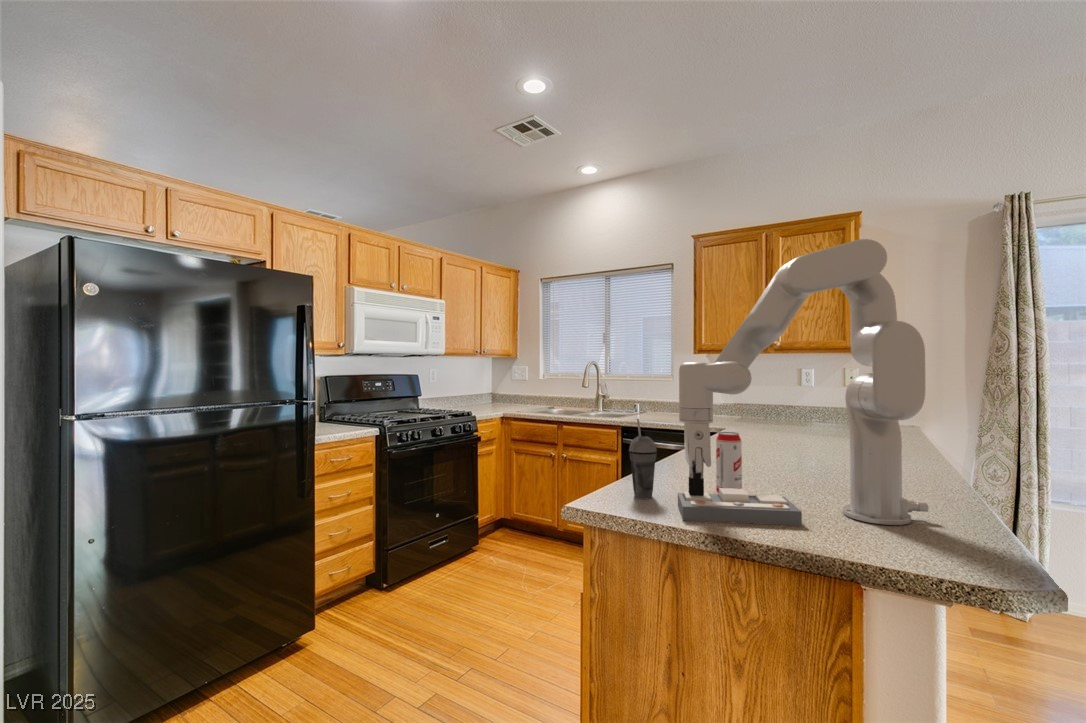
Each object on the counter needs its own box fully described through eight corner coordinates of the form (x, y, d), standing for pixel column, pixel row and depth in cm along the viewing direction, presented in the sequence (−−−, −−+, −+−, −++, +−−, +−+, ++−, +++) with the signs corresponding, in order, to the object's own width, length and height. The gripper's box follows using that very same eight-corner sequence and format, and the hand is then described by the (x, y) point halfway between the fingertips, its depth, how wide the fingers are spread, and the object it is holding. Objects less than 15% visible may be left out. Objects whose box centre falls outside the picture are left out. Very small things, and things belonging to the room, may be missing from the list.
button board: (784, 509, 116) (784, 494, 116) (801, 525, 104) (801, 509, 104) (677, 505, 120) (677, 490, 120) (682, 520, 108) (682, 504, 108)
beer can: (744, 493, 130) (743, 432, 131) (739, 499, 125) (738, 435, 125) (719, 490, 134) (719, 431, 134) (713, 496, 129) (713, 433, 129)
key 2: (780, 508, 115) (779, 495, 115) (787, 515, 110) (787, 501, 110) (755, 507, 116) (755, 494, 116) (761, 514, 111) (761, 500, 111)
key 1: (707, 505, 118) (707, 492, 118) (711, 511, 112) (711, 498, 112) (683, 504, 119) (683, 491, 119) (686, 510, 113) (686, 497, 113)
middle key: (743, 501, 116) (743, 488, 116) (748, 508, 111) (748, 494, 111) (719, 500, 117) (718, 487, 117) (723, 507, 112) (723, 493, 112)
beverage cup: (660, 500, 125) (659, 420, 125) (631, 500, 125) (630, 420, 125) (654, 492, 132) (653, 417, 132) (626, 492, 132) (626, 417, 132)
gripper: (718, 419, 108) (718, 504, 108) (707, 412, 122) (708, 487, 122) (682, 418, 109) (682, 502, 109) (676, 412, 124) (676, 486, 124)
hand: (696, 494), depth 116 cm, fingers closed
